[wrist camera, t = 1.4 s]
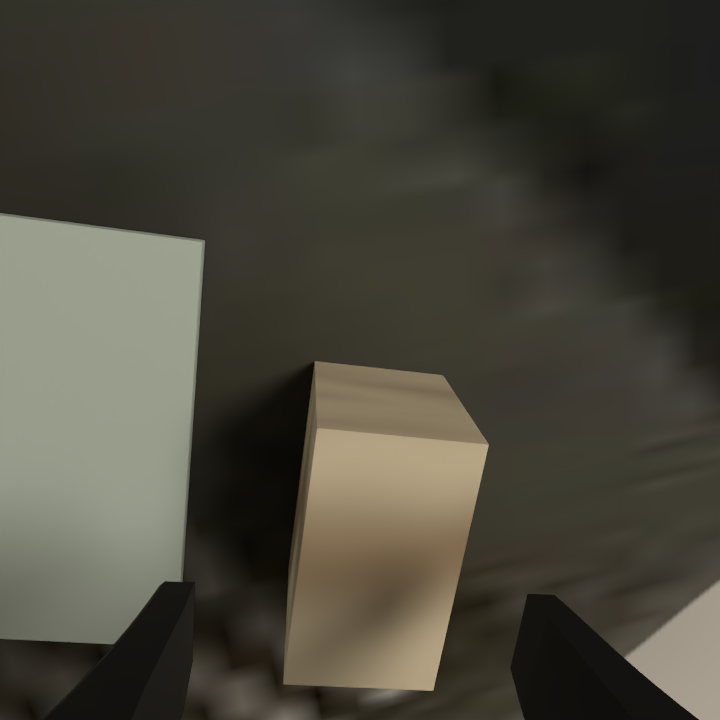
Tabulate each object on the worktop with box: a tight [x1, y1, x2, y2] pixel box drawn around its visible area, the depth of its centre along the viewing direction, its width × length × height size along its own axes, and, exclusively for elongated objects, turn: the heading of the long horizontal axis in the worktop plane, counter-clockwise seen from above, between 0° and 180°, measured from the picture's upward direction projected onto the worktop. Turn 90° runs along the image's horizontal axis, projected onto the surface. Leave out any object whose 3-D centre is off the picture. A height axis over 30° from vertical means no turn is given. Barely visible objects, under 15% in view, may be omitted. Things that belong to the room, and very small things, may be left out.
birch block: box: [283, 361, 489, 691], centre depth 19 cm, size 8×4×6 cm, turn 172°
